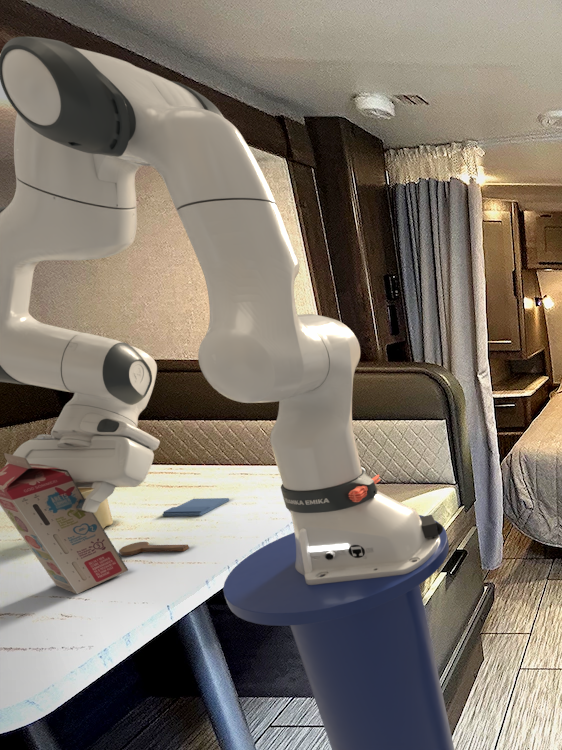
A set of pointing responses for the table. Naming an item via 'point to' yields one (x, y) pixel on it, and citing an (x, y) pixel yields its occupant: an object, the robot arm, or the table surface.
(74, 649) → the table surface
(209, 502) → the cloth
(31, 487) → the juice carton
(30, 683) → the table surface
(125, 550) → the wooden spoon
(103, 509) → the flower pot
